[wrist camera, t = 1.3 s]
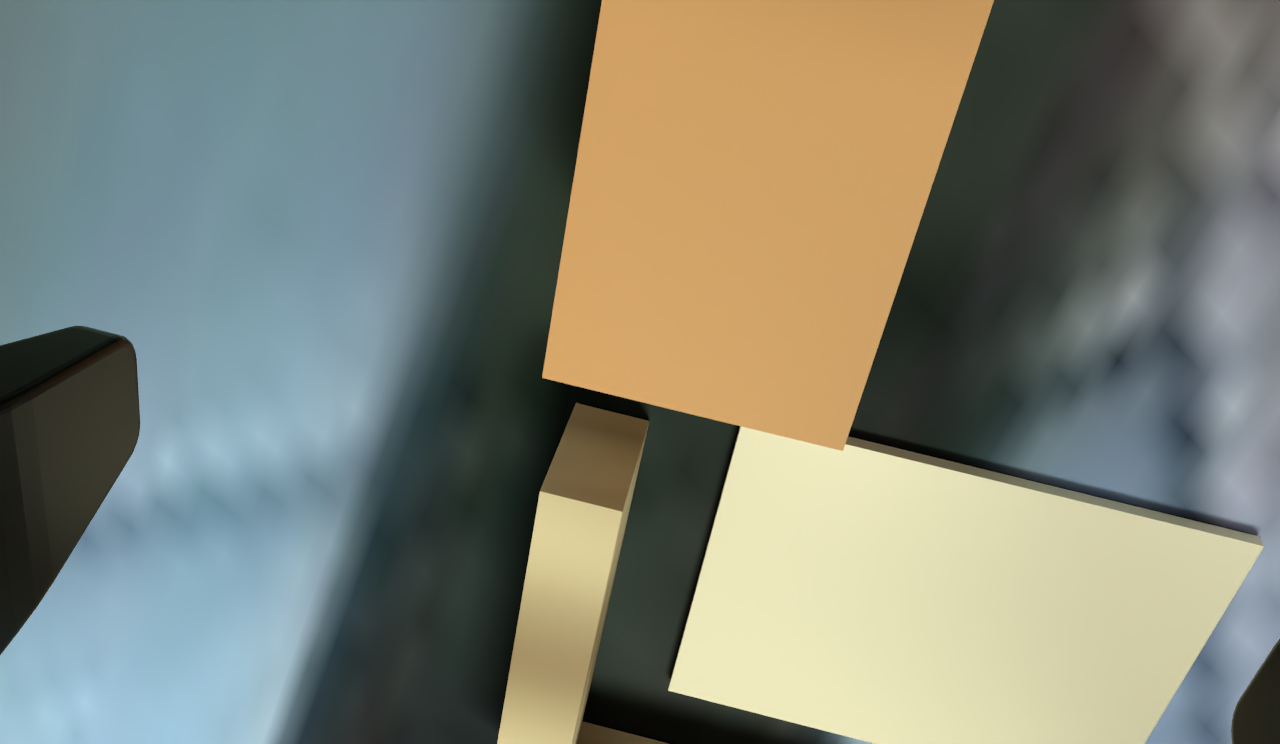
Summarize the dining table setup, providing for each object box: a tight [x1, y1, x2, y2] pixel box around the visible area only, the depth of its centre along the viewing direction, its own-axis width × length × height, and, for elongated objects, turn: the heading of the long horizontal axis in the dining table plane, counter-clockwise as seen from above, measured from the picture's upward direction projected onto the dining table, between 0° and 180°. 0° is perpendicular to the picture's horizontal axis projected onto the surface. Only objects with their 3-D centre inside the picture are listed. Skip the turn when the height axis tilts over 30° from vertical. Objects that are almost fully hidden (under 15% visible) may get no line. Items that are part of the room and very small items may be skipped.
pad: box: [668, 426, 1264, 744], centre depth 24 cm, size 8×10×1 cm
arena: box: [497, 403, 668, 744], centre depth 24 cm, size 10×16×3 cm, turn 80°
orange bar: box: [542, 0, 994, 451], centre depth 17 cm, size 7×4×5 cm, turn 170°
